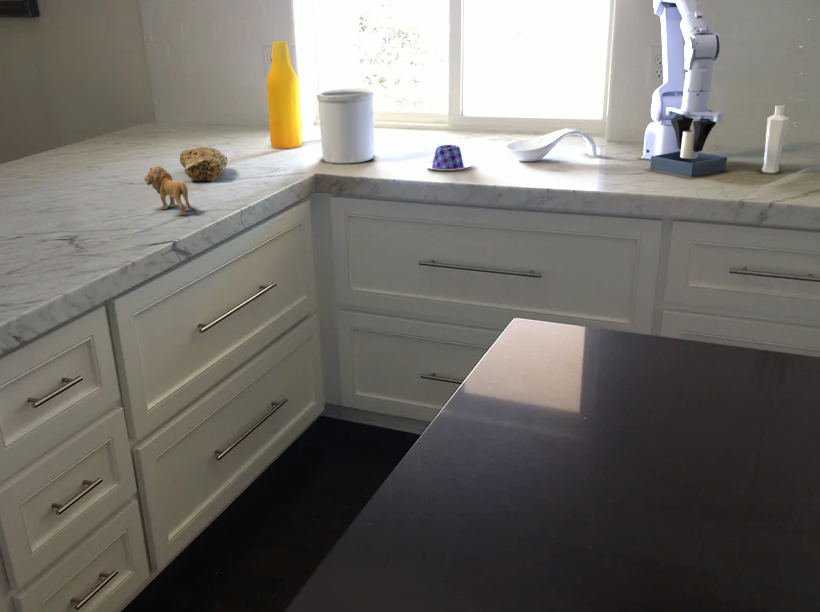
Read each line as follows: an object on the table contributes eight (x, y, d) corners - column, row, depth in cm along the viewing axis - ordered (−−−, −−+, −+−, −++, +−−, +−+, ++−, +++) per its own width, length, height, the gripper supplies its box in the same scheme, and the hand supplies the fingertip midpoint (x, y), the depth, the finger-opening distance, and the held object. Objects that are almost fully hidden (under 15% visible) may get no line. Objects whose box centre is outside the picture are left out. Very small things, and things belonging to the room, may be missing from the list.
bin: (649, 170, 208) (651, 156, 207) (683, 163, 213) (685, 149, 212) (690, 178, 198) (692, 163, 197) (725, 171, 204) (727, 157, 203)
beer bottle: (274, 143, 260) (267, 40, 248) (304, 142, 258) (299, 40, 247) (267, 148, 251) (260, 43, 240) (298, 148, 250) (292, 42, 239)
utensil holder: (311, 163, 230) (307, 94, 223) (333, 152, 243) (330, 87, 236) (362, 165, 225) (360, 95, 218) (382, 154, 238) (381, 88, 231)
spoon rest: (512, 165, 218) (513, 136, 216) (498, 156, 229) (499, 129, 226) (602, 159, 221) (604, 131, 218) (584, 151, 232) (586, 124, 229)
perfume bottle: (783, 174, 199) (794, 107, 193) (762, 174, 200) (772, 107, 194) (778, 170, 203) (788, 104, 197) (758, 170, 204) (768, 104, 198)
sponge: (228, 186, 213) (233, 154, 229) (218, 157, 209) (225, 126, 225) (177, 197, 214) (186, 165, 230) (166, 168, 210) (176, 137, 226)
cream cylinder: (676, 157, 205) (679, 131, 202) (685, 154, 207) (688, 129, 205) (692, 159, 202) (695, 133, 200) (701, 156, 204) (704, 131, 202)
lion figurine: (144, 208, 190) (139, 167, 187) (163, 203, 194) (158, 162, 190) (188, 217, 181) (183, 174, 178) (207, 212, 185) (202, 170, 182)
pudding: (439, 161, 227) (439, 140, 224) (480, 165, 220) (480, 144, 218) (415, 169, 218) (414, 148, 216) (457, 174, 211) (457, 152, 209)
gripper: (659, 88, 202) (653, 147, 208) (711, 94, 191) (704, 156, 196) (680, 86, 206) (673, 143, 211) (732, 91, 194) (724, 152, 200)
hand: (689, 149), depth 204 cm, fingers closed on cream cylinder, 4 cm apart
